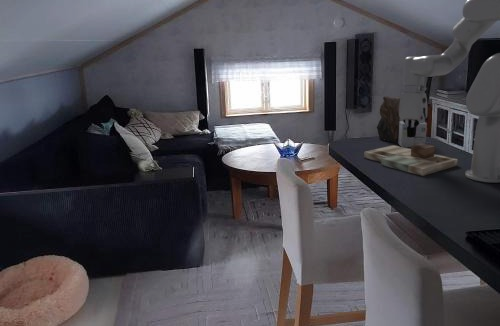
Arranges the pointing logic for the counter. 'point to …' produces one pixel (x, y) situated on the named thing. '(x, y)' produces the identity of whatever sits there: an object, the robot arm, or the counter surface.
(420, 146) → the walnut block
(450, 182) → the counter surface
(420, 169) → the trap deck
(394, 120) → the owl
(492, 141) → the robot arm
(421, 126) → the light bulb box
